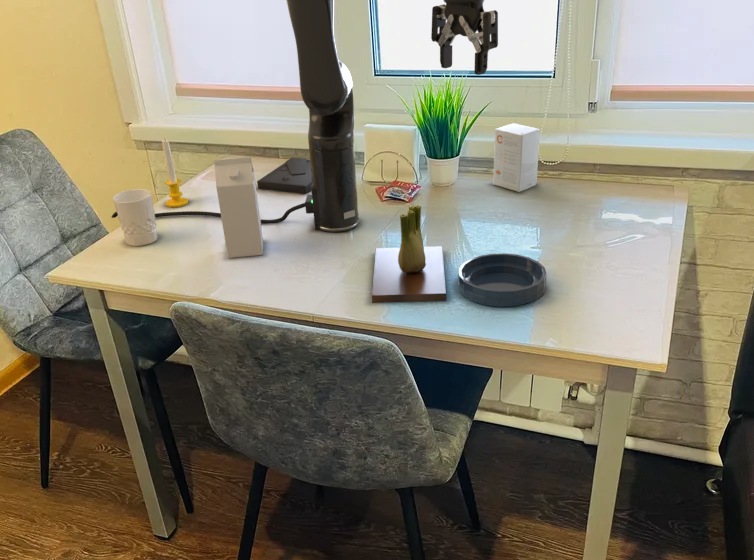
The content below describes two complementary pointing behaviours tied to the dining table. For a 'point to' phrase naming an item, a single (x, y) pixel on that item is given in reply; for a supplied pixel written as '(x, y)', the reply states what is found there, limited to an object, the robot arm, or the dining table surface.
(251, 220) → the milk carton
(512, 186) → the small box
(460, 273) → the bowl
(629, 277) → the dining table surface
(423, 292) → the board
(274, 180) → the picture frame
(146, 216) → the white cup
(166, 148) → the candle
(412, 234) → the fennel bulb
